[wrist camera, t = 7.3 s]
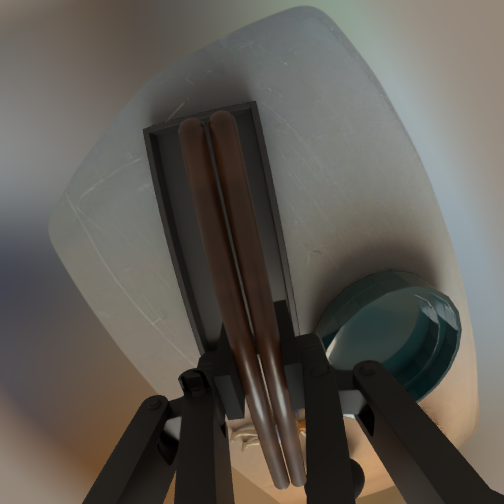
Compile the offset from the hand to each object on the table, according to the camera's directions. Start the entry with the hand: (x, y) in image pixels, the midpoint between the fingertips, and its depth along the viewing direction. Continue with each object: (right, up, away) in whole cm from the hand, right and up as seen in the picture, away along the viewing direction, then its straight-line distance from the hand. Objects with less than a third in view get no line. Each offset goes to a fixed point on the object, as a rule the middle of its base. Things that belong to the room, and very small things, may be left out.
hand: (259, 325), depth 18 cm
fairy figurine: (+3, -21, +21) cm, 30 cm away
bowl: (+16, -6, +17) cm, 24 cm away
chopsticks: (0, -1, -4) cm, 4 cm away
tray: (-3, +6, +14) cm, 15 cm away
